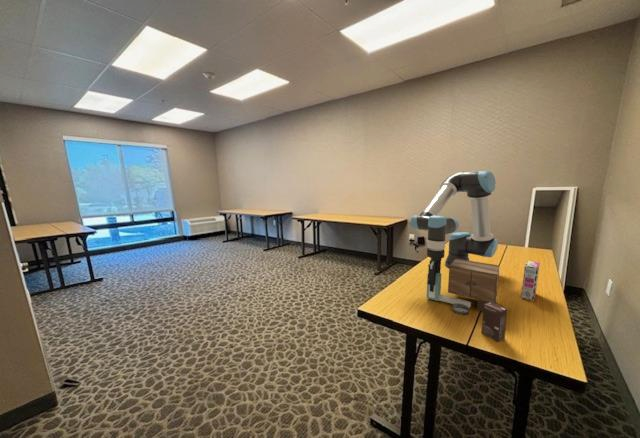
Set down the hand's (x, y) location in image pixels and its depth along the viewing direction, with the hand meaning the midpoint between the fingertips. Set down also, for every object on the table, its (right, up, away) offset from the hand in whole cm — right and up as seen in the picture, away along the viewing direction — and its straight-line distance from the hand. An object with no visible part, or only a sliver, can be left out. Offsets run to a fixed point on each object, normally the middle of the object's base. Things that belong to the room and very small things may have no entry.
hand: (433, 294), depth 118 cm
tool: (+5, -2, -4) cm, 7 cm away
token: (+7, -4, -11) cm, 13 cm away
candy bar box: (+48, -1, +2) cm, 48 cm away
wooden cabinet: (+17, -3, -3) cm, 17 cm away
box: (+9, -7, -28) cm, 30 cm away
